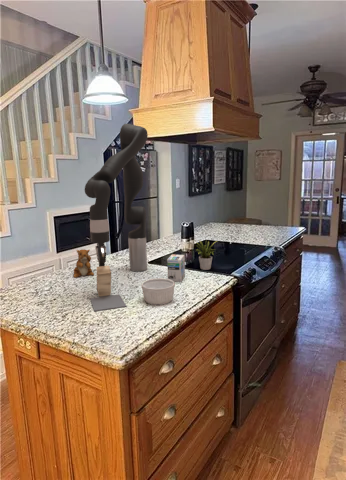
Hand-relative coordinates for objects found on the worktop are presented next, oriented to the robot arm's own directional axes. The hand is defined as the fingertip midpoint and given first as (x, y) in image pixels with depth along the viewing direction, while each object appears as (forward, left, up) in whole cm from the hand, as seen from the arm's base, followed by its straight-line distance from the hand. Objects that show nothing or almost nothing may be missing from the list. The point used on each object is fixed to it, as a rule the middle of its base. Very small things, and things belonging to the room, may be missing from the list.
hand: (102, 271), depth 142 cm
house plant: (-20, +55, -10) cm, 60 cm away
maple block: (0, 0, -9) cm, 9 cm away
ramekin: (+14, +20, -11) cm, 27 cm away
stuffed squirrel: (-35, -5, -10) cm, 37 cm away
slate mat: (+10, 0, -10) cm, 14 cm away
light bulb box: (-9, +36, -10) cm, 39 cm away
